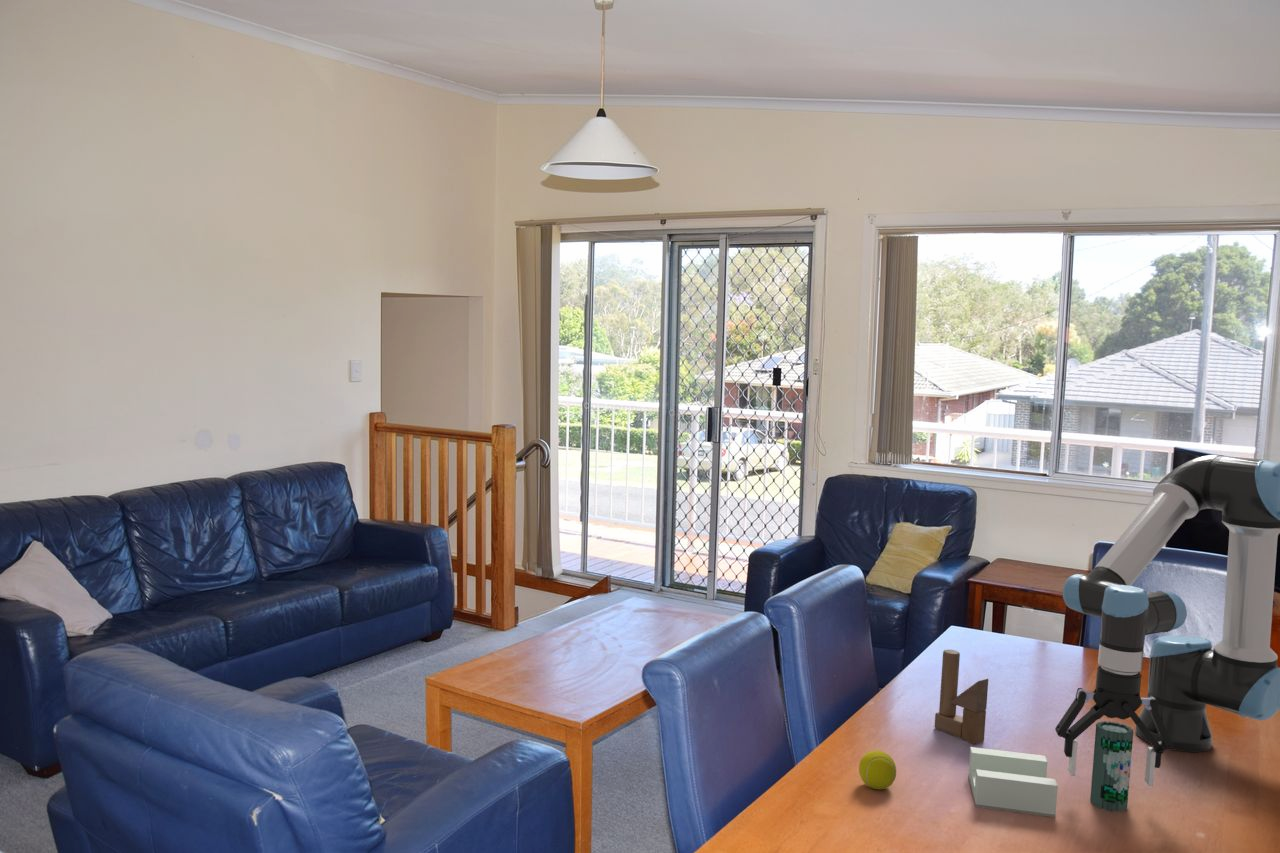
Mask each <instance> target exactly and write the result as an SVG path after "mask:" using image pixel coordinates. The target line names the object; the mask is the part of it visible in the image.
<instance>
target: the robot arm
mask: <svg viewBox="0 0 1280 853" xmlns="http://www.w3.org/2000/svg"><path fill="white" fill-rule="evenodd" d="M1206 509H1207V510H1208V509H1212V510H1216V511H1222V513H1221V523H1222V524H1223V525H1224V526H1225V527H1227V529H1228V531H1229V534H1228V535H1229V536H1228V550H1227V563H1226V578H1225V579H1226V580H1225V592H1224V593H1225V595H1224V609H1223V610H1224V611H1223V624H1222V626H1223V627H1222V638H1221V641H1219V642H1217V643H1216V644H1214V645H1213V644H1212V641H1211V640H1209V639H1208V638H1204V637H1200V636H1195V635H1193V636H1192V635H1180V634H1179V635H1178V634H1175V635H1174V634H1173V635H1172V634H1171V635H1162V636H1158V637H1156V638H1155V639H1153V640H1152V643H1151V648H1150V655H1149V667H1148V668H1149V670H1148V680H1147V682H1148V683H1147V695H1146V697H1141V684H1142V683H1141V682H1142V673H1141V671H1142V670H1143V660H1144V647H1145V641H1146V640H1145V639H1146V636H1148V635H1154V634H1160V633H1169V632H1171V631H1173V630H1176V629H1179V628H1180V627H1182V626H1183V625H1184V623H1185V622H1186V619H1187V616H1188V613H1187V612H1188V611H1187V606H1186V604H1185V603H1184V600H1183V599H1182V598H1181V597H1180V596H1179V595H1177V594H1176V593H1174V592H1171V591H1162V590H1158V591H1155V592H1154V591H1148V590H1145V589H1143V588H1141V587H1137V586H1133V584H1134V583H1135V581H1136V580H1137V579H1138V578H1139V577H1140V575H1141V574H1142V573H1143V572H1144V570H1146V568H1147V567H1148V566H1149V564H1151V562H1152V561H1153V559H1155V557H1156V556H1157V555H1158V553H1160V551H1162V549H1163V547H1164V546H1165V545H1166V544H1167V543H1168V541H1169V540H1170V539H1171V538H1172V537H1173V535H1175V534H1174V533H1176V532H1177V530H1178V529H1179V528H1180V526H1182V524H1183V523H1184V522H1185V520H1189V519H1192V518H1194V517H1196V516H1197V514H1198V513H1199V512H1200V511H1201V510H1206ZM1279 535H1280V462H1278V461H1273V460H1269V459H1260V458H1250V457H1242V456H1240V457H1239V456H1229V455H1223V454H1207V455H1202V456H1198V457H1196V458H1193V459H1191V460H1188V461H1186V462H1184V463H1182V464H1181V465H1178V466H1177V467H1175V468H1174V469H1173V470H1171V471H1170V472H1169V473H1167V474H1166V475H1165V476H1164V477H1163V478H1161V480H1160V481H1159V482H1158V483H1157V485H1155V487H1154V488H1153V490H1152V498H1151V500H1149V502H1148V503H1147V504H1146V505H1145V507H1144V508H1143V509H1142V510H1141V511H1140V513H1139V514H1138V515H1137V516H1136V517H1135V519H1134V520H1133V521H1132V522H1131V523H1130V524H1129V526H1128V527H1127V529H1125V531H1124V532H1123V533H1122V534H1121V535H1120V536H1119V538H1117V540H1116V542H1114V544H1112V546H1111V547H1110V549H1108V551H1107V552H1106V553H1105V554H1104V555H1103V556H1102V558H1101V559H1100V560H1099V562H1097V564H1096V565H1095V566H1094V567H1093V568H1092V569H1091V571H1090V572H1089V573H1088V574H1087V575H1085V574H1083V573H1082V574H1079V573H1076V574H1073V575H1070V576H1069V577H1068V578H1067V579H1066V581H1065V583H1064V585H1063V589H1062V598H1063V601H1064V603H1065V605H1066V607H1068V608H1069V609H1071V610H1073V611H1076V612H1079V613H1082V614H1083V615H1086V616H1087V615H1088V616H1092V617H1096V618H1099V619H1101V624H1100V625H1101V626H1100V637H1099V648H1098V655H1097V656H1098V658H1097V664H1098V665H1099V666H1098V667H1097V668H1096V678H1095V688H1094V690H1093V691H1088V690H1084V689H1083V687H1078V688H1077V690H1076V693H1075V698H1074V700H1072V702H1071V704H1070V706H1068V708H1067V710H1066V712H1065V713H1064V715H1063V716H1062V718H1061V719H1060V720H1059V722H1058V723H1057V725H1056V727H1055V729H1054V730H1055V732H1056V735H1057V736H1058V737H1060V738H1063V739H1064V747H1063V748H1064V749H1063V753H1064V755H1065V757H1066V758H1068V767H1067V771H1068V773H1069V774H1070V776H1071V777H1075V776H1076V771H1077V770H1076V769H1077V757H1078V749H1079V748H1078V746H1079V743H1078V741H1077V738H1078V737H1079V736H1080V735H1081V734H1083V733H1084V732H1085V731H1086V730H1087V729H1089V727H1091V726H1092V725H1093V724H1094V723H1095V722H1097V720H1100V719H1101V718H1102V717H1104V716H1105V717H1106V718H1107V719H1115V718H1116V719H1119V720H1126V719H1129V718H1131V720H1132V722H1134V724H1135V734H1136V735H1137V736H1138V738H1140V739H1142V740H1144V741H1145V742H1148V743H1150V745H1151V746H1147V750H1146V751H1147V752H1146V762H1145V770H1144V771H1145V772H1144V773H1145V774H1144V781H1145V783H1146V784H1147V787H1154V780H1155V778H1154V777H1155V770H1156V769H1160V767H1161V762H1162V754H1164V752H1165V751H1167V750H1168V751H1173V750H1174V751H1179V752H1186V753H1187V752H1188V753H1196V752H1197V753H1198V752H1205V751H1208V750H1210V749H1211V748H1212V746H1213V734H1212V730H1211V726H1210V722H1209V719H1208V716H1207V715H1208V714H1207V710H1206V709H1207V705H1208V706H1211V707H1214V708H1218V709H1222V710H1224V711H1227V712H1229V713H1233V714H1235V715H1238V716H1240V717H1241V718H1249V719H1253V720H1256V721H1266V720H1269V719H1271V718H1272V717H1273V716H1275V715H1276V714H1277V712H1278V711H1279V710H1280V667H1278V654H1277V653H1276V652H1275V651H1274V650H1273V649H1272V648H1271V638H1272V636H1271V633H1272V623H1273V606H1274V591H1275V581H1276V580H1275V577H1276V563H1277V552H1278V551H1277V550H1278V549H1277V548H1278V537H1279ZM1212 648H1213V649H1212ZM1090 700H1093V701H1094V703H1095V704H1094V705H1093V706H1092V707H1090V708H1089V711H1087V712H1086V713H1085V714H1084V715H1083V716H1082V717H1081V718H1080V719H1078V720H1076V718H1077V717H1078V715H1079V714H1080V712H1081V711H1082V710H1083V708H1084V706H1085V704H1087V703H1088V702H1089V701H1090ZM1142 705H1143V707H1142V709H1141V711H1140V713H1139V715H1138V714H1137V713H1136V711H1137V710H1138V709H1139V708H1140V707H1141V706H1142ZM1075 720H1076V722H1074V721H1075ZM1073 723H1074V724H1073Z"/></svg>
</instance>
